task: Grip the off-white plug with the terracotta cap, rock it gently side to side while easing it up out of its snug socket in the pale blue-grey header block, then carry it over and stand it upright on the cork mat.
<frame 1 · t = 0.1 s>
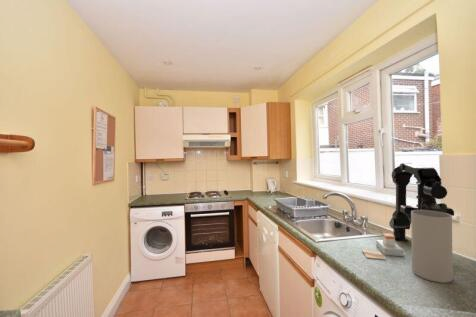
hand: (425, 228, 104), 15 cm above the worktop, tool pointing down, fingers open, 9 cm apart
mat: (373, 255, 110), on the worktop
header: (389, 250, 116), on the worktop
cylinder vase: (431, 275, 92), on the worktop
plug: (388, 242, 115), in the header
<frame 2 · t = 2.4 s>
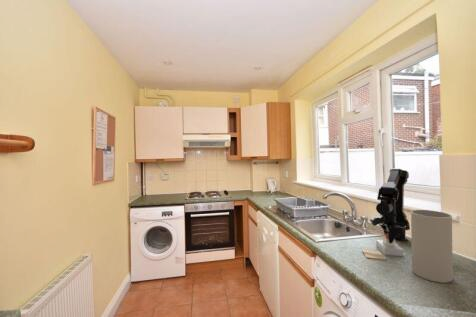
hand: (388, 241, 115), 5 cm above the worktop, tool pointing down, fingers closed on plug, 4 cm apart
plug: (388, 242, 115), in the header, touching gripper
everything else where it was.
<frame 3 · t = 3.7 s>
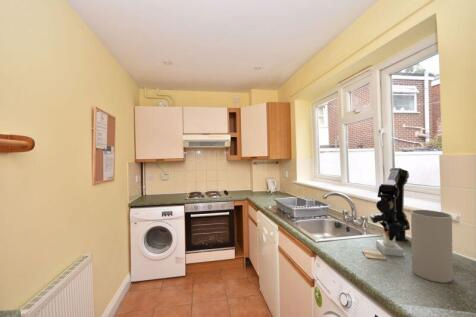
hand: (389, 238, 115), 6 cm above the worktop, tool pointing down, fingers closed on plug, 4 cm apart
plug: (389, 240, 115), point 5 cm above the worktop, touching gripper
everything else where it was.
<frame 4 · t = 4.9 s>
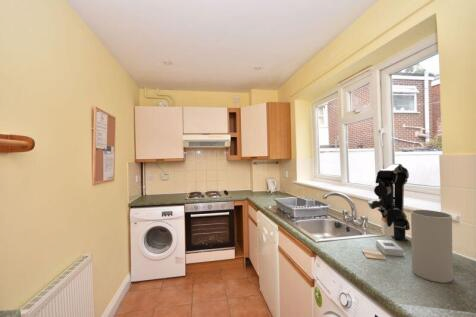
hand: (387, 225, 115), 13 cm above the worktop, tool pointing down, fingers closed on plug, 4 cm apart
plug: (387, 226, 115), point 12 cm above the worktop, touching gripper
everything else where it was.
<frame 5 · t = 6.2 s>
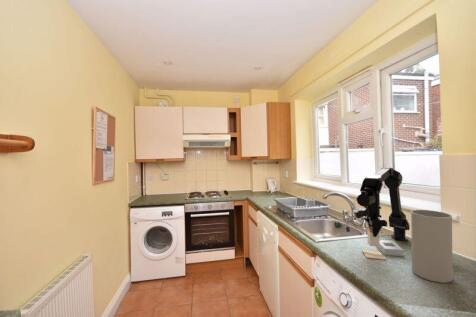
hand: (373, 235, 110), 10 cm above the worktop, tool pointing down, fingers closed on plug, 4 cm apart
plug: (373, 236, 110), point 9 cm above the worktop, touching gripper
everything else where it was.
when the fingers open (5 cm above the worktop, at t = 7.4 s): plug stays where it is, resting on mat.
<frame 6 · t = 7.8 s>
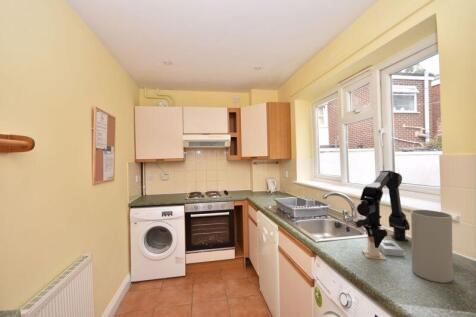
hand: (373, 244, 110), 5 cm above the worktop, tool pointing down, fingers open, 8 cm apart
plug: (373, 246, 110), on the mat
everything else where it was.
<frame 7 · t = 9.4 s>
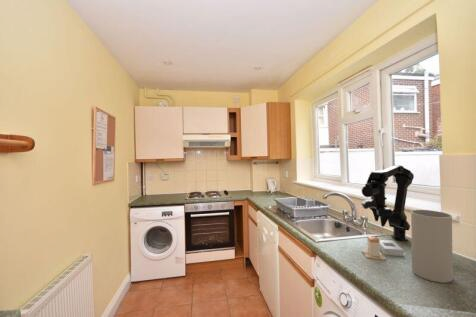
hand: (379, 223, 122), 12 cm above the worktop, tool pointing down, fingers open, 9 cm apart
nothing on the worktop moved.
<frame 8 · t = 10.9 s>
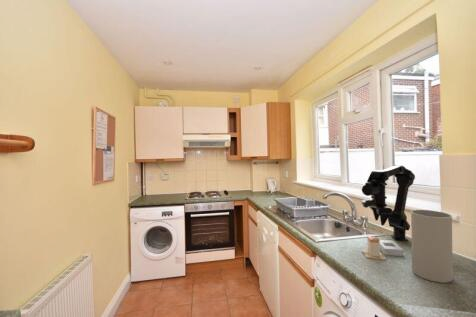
hand: (379, 222, 123), 12 cm above the worktop, tool pointing down, fingers open, 9 cm apart
nothing on the worktop moved.
at the end: plug inside the target area on the mat (0.0 cm from its centre), point 4.5 cm above the mat's base; plug tilted 0°; the gripper is holding nothing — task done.
